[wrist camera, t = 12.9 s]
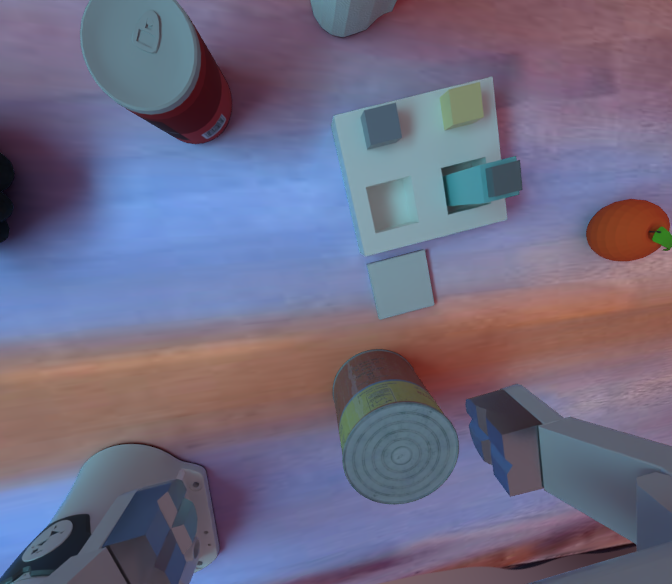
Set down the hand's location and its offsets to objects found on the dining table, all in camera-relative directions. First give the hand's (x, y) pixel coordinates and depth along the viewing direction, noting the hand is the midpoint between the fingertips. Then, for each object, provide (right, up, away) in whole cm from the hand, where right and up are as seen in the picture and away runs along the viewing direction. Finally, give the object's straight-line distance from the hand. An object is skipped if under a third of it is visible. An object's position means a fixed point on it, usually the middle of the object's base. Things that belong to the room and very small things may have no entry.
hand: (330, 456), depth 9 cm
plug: (+13, +16, +27) cm, 34 cm away
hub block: (+9, +18, +27) cm, 33 cm away
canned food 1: (-14, +24, +23) cm, 36 cm away
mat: (+8, +5, +29) cm, 31 cm away
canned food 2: (+5, -8, +33) cm, 34 cm away
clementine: (+33, +12, +30) cm, 47 cm away
